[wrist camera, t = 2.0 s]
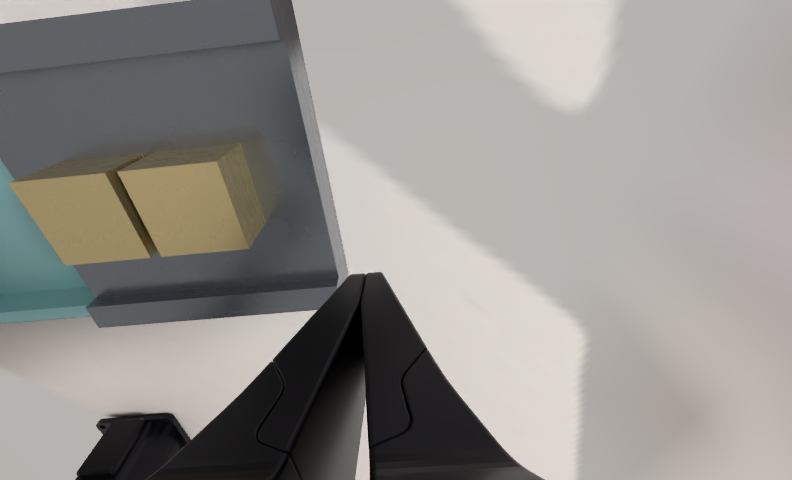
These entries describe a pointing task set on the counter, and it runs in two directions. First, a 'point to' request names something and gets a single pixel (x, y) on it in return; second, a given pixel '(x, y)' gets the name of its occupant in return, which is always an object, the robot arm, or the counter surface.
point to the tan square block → (196, 199)
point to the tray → (33, 268)
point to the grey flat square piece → (182, 143)
